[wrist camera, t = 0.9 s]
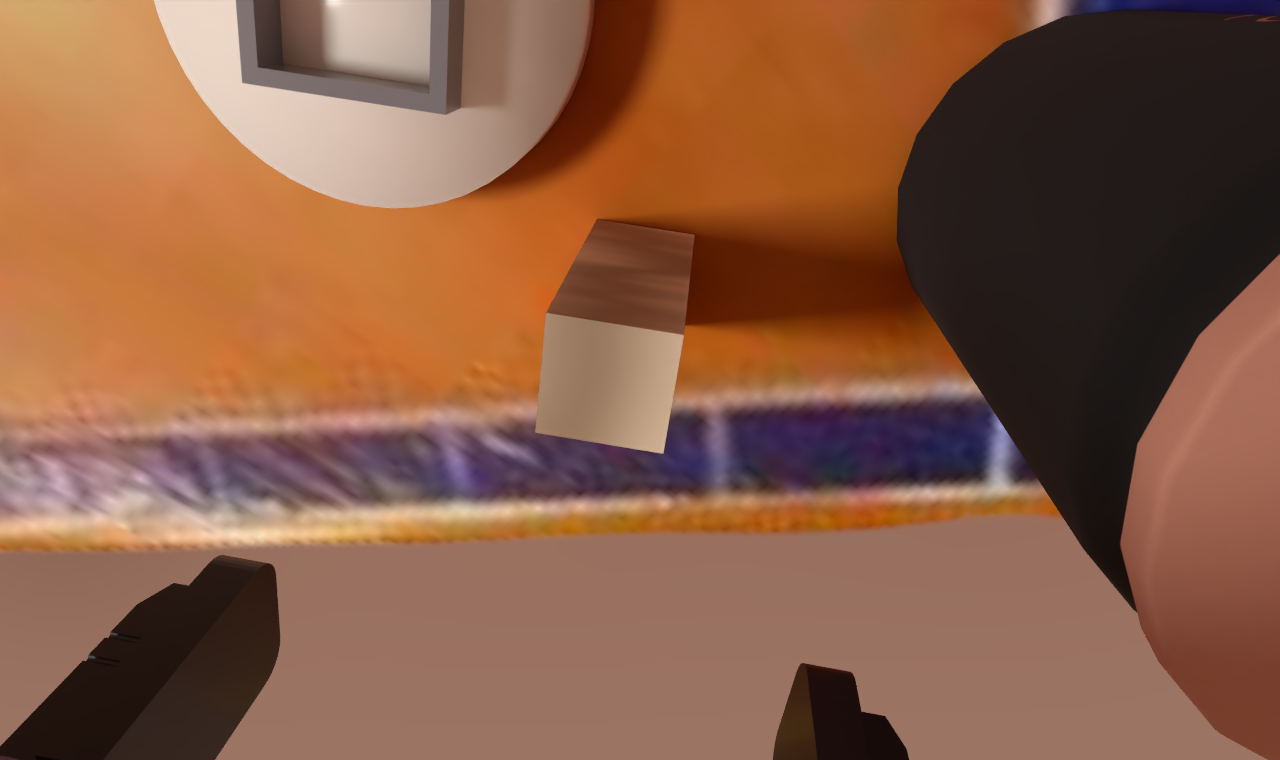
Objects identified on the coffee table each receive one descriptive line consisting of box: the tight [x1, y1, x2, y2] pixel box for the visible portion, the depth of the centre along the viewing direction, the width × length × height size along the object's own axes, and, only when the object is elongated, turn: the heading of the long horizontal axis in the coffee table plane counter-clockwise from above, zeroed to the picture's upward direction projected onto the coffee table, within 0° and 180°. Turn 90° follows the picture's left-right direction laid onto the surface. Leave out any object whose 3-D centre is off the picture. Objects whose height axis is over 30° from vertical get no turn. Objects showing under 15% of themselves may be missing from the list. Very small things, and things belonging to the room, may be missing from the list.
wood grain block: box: [535, 219, 695, 454], centre depth 24 cm, size 3×3×9 cm
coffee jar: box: [897, 9, 1280, 760], centre depth 18 cm, size 11×11×18 cm
